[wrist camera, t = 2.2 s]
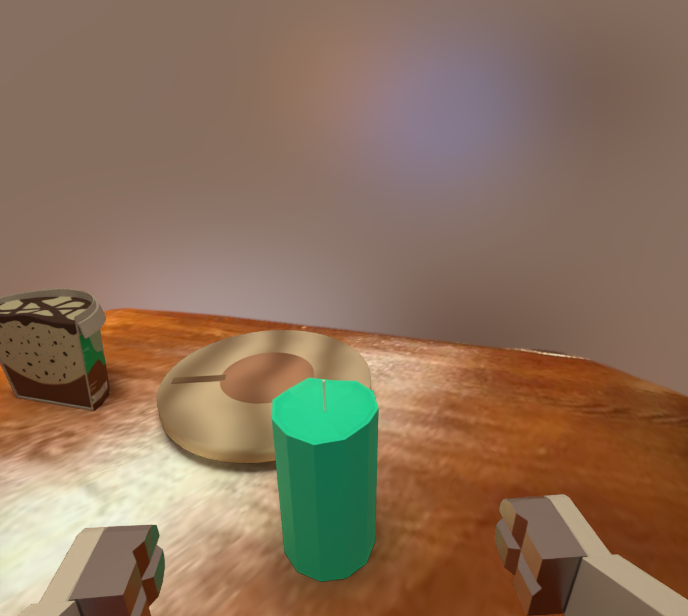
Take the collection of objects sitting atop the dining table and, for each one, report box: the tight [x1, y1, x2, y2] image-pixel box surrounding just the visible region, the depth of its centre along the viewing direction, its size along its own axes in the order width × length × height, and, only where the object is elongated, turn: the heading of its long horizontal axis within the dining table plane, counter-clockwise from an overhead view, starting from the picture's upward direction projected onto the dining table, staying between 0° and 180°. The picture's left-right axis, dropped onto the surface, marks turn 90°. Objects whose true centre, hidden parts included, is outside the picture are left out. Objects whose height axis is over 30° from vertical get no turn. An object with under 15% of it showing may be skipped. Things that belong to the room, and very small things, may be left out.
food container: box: [0, 289, 109, 411], centre depth 42 cm, size 12×6×10 cm, turn 76°
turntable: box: [157, 330, 371, 463], centre depth 41 cm, size 20×20×2 cm
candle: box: [272, 378, 379, 582], centre depth 25 cm, size 6×6×12 cm
